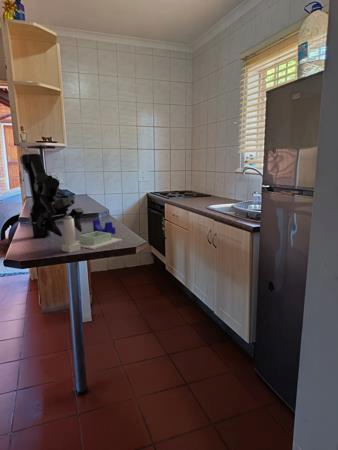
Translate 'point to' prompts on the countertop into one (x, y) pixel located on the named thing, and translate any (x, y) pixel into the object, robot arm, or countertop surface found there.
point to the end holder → (96, 240)
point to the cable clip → (107, 228)
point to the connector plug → (69, 235)
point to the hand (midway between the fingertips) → (71, 233)
